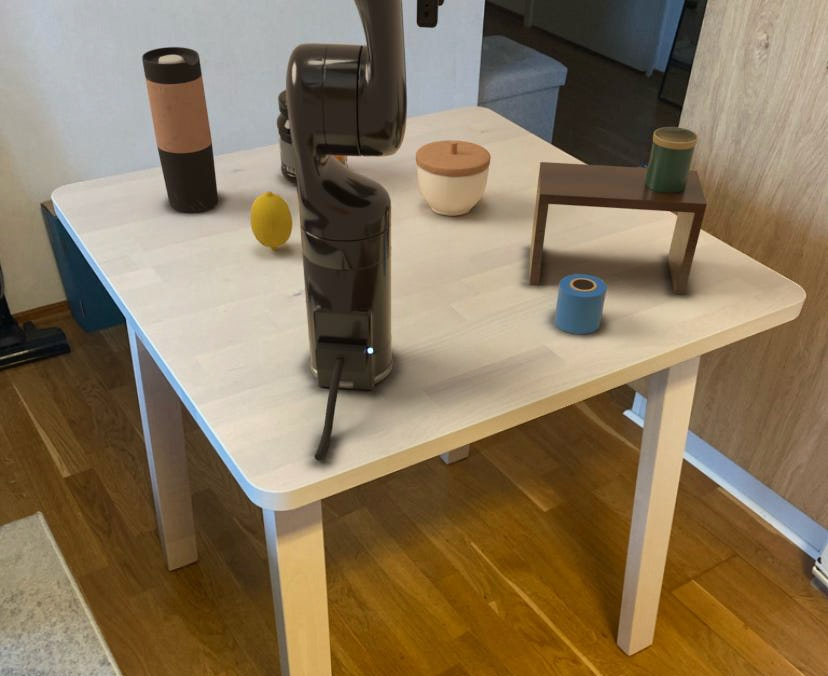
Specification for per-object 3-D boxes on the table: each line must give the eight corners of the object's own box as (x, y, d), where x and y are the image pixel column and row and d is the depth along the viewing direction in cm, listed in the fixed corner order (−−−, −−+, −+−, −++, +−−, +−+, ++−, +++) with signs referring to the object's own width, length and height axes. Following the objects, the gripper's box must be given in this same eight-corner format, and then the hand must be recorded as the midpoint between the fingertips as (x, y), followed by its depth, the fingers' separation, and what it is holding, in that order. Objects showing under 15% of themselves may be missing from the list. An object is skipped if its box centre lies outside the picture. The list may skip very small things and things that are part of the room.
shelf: (684, 294, 115) (707, 203, 107) (529, 284, 116) (539, 193, 108) (676, 258, 122) (697, 170, 114) (530, 249, 124) (540, 161, 115)
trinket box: (490, 195, 136) (495, 131, 129) (482, 226, 129) (486, 160, 122) (421, 189, 137) (422, 125, 131) (408, 219, 130) (409, 153, 123)
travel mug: (163, 196, 134) (136, 49, 120) (213, 189, 136) (193, 44, 122) (173, 217, 129) (146, 66, 115) (225, 209, 131) (205, 60, 117)
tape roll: (601, 335, 108) (608, 297, 104) (554, 332, 108) (559, 294, 105) (599, 312, 112) (605, 274, 108) (554, 309, 112) (559, 271, 109)
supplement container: (362, 177, 140) (360, 96, 132) (311, 196, 135) (306, 113, 126) (318, 158, 145) (314, 78, 137) (267, 175, 140) (259, 94, 132)
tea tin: (688, 194, 109) (700, 144, 104) (645, 192, 109) (655, 141, 105) (684, 177, 112) (695, 127, 108) (642, 175, 113) (652, 125, 108)
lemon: (287, 261, 120) (282, 202, 114) (248, 256, 121) (241, 198, 115) (299, 242, 124) (295, 185, 118) (261, 238, 125) (255, 181, 119)
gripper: (405, -183, 92) (404, -3, 103) (387, -165, 82) (388, 32, 93) (478, -181, 91) (468, 0, 103) (469, -162, 81) (460, 36, 92)
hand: (430, 15), depth 98 cm, fingers open, 8 cm apart
